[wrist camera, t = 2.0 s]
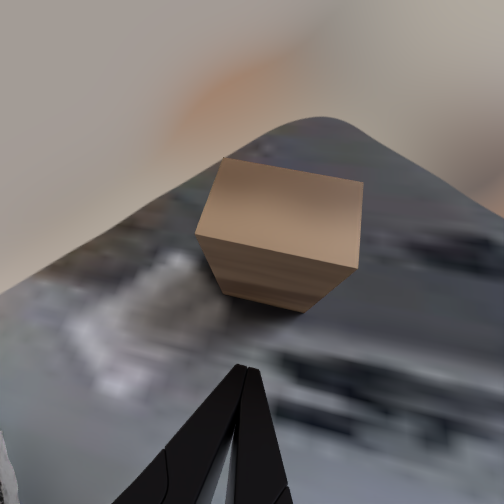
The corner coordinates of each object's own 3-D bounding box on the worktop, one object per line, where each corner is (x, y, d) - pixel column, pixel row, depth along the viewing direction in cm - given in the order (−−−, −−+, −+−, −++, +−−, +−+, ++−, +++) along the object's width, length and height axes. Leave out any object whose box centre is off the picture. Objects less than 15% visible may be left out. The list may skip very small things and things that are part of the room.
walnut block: (304, 313, 20) (358, 268, 10) (223, 293, 21) (194, 233, 10) (312, 260, 22) (363, 177, 12) (237, 244, 22) (224, 152, 12)
